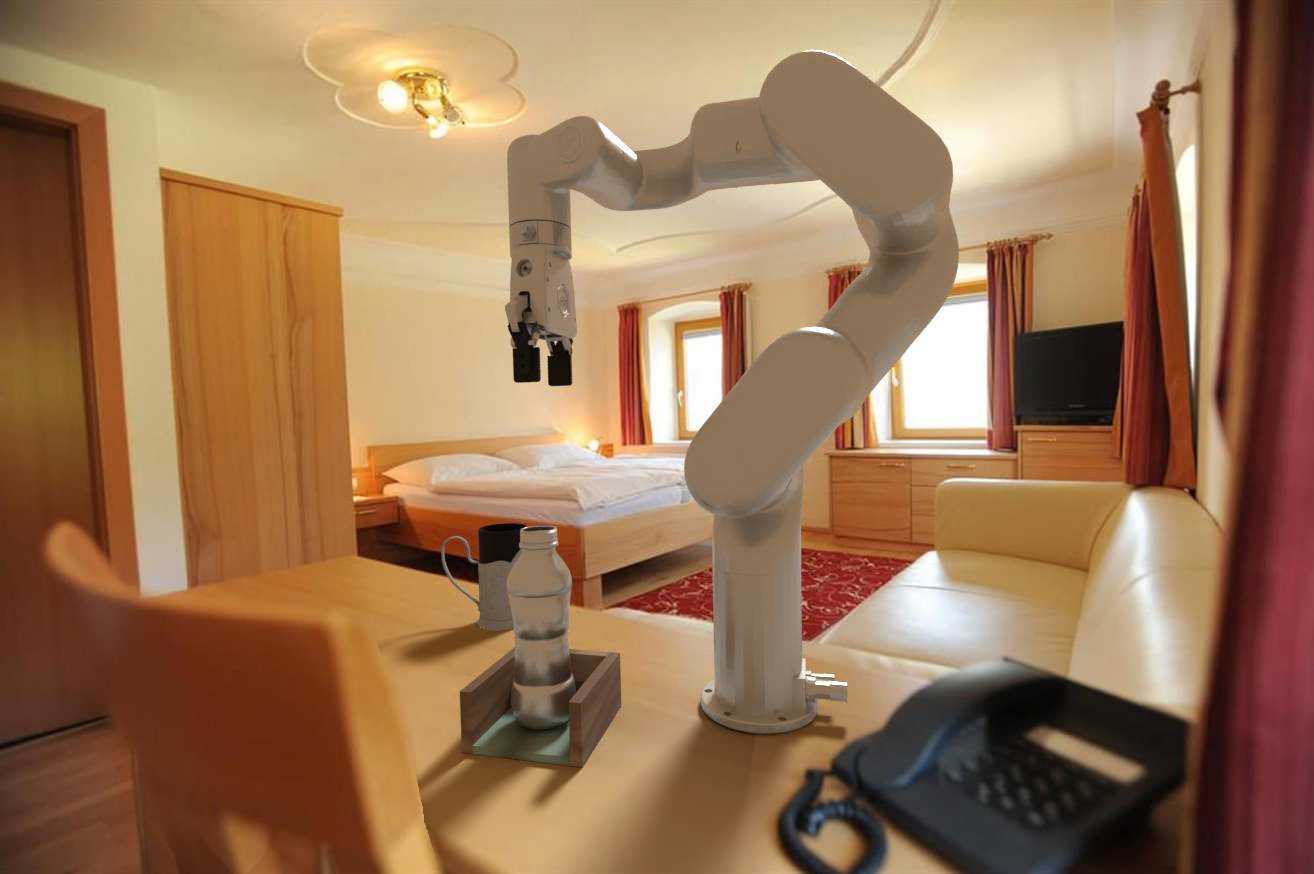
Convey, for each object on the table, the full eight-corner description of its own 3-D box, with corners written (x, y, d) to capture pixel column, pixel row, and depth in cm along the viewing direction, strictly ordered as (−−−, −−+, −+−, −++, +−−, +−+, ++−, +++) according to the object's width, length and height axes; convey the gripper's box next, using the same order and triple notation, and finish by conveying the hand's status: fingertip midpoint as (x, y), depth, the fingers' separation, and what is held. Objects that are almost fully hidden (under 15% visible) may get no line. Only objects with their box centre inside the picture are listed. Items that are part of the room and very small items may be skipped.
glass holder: (527, 630, 92) (524, 532, 92) (433, 632, 92) (430, 534, 92) (538, 611, 101) (535, 521, 101) (453, 613, 101) (450, 523, 101)
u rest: (621, 706, 67) (620, 652, 67) (582, 767, 56) (580, 703, 56) (518, 696, 70) (517, 644, 70) (461, 752, 59) (459, 691, 59)
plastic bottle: (564, 741, 59) (559, 535, 58) (499, 735, 60) (493, 534, 60) (585, 709, 65) (580, 523, 65) (526, 705, 66) (520, 522, 66)
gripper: (539, 220, 66) (543, 379, 66) (593, 259, 82) (596, 386, 83) (476, 227, 67) (481, 381, 68) (542, 264, 84) (545, 387, 85)
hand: (544, 384), depth 76 cm, fingers open, 9 cm apart
